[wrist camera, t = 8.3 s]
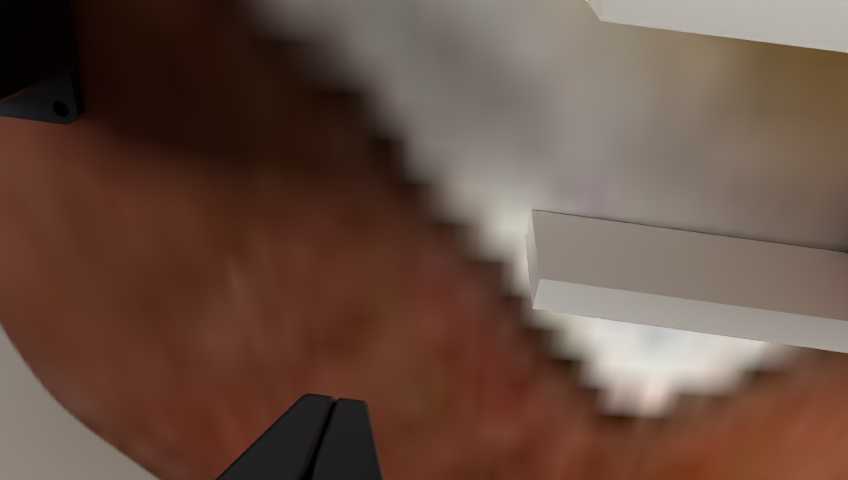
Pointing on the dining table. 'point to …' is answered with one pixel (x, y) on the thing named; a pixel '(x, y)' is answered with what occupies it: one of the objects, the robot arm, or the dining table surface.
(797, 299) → the plug guide
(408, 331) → the dining table surface
